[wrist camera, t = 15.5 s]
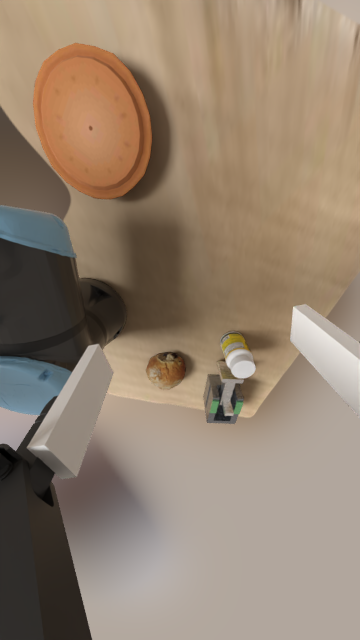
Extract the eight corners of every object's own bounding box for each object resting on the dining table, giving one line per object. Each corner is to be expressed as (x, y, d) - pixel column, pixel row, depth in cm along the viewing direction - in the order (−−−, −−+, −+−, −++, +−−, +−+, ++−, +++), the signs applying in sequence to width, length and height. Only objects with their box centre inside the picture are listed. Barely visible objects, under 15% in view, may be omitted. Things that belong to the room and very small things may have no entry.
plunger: (217, 361, 50) (225, 390, 42) (237, 362, 50) (248, 391, 43) (211, 388, 55) (217, 419, 47) (229, 389, 56) (237, 420, 48)
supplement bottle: (243, 348, 50) (257, 378, 41) (220, 351, 50) (229, 382, 41) (243, 328, 47) (258, 357, 38) (219, 332, 47) (228, 361, 38)
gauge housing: (208, 374, 54) (212, 398, 47) (236, 375, 54) (245, 399, 48) (203, 398, 59) (206, 423, 52) (229, 400, 59) (236, 424, 53)
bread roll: (146, 353, 55) (133, 380, 50) (166, 343, 48) (155, 372, 43) (172, 371, 58) (164, 397, 53) (196, 363, 51) (188, 393, 46)
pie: (166, 186, 33) (164, 183, 28) (79, 209, 34) (65, 210, 30) (135, 44, 25) (127, 11, 21) (26, 82, 27) (-3, 58, 22)
